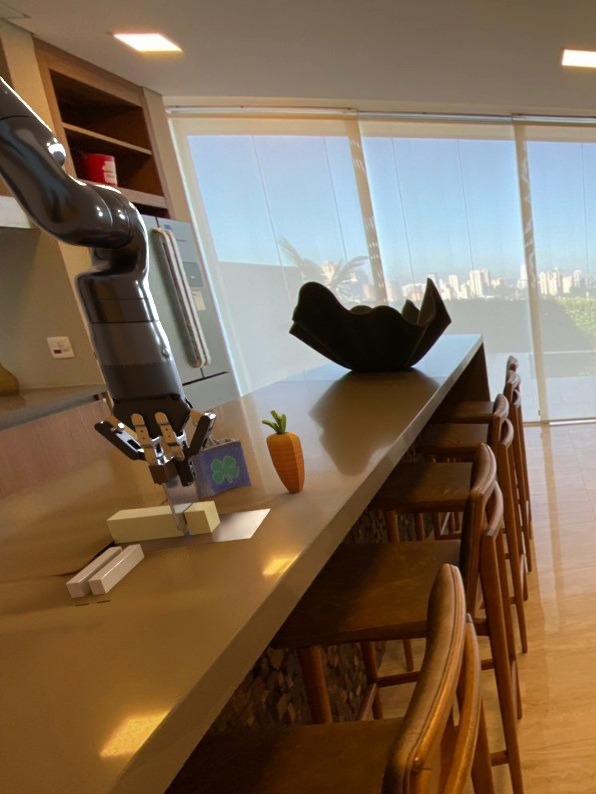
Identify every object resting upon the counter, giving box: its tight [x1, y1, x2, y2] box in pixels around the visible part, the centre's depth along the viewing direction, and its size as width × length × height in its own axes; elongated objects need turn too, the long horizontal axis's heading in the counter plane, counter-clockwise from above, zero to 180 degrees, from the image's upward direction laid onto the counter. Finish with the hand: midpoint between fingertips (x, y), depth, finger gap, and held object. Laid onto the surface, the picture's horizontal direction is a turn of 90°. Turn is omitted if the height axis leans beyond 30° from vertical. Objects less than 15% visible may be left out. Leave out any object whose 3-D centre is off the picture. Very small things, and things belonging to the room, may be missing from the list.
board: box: [92, 508, 271, 559], centre depth 81 cm, size 18×12×1 cm, turn 109°
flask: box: [192, 434, 253, 498], centre depth 97 cm, size 9×3×11 cm, turn 164°
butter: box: [105, 505, 189, 544], centre depth 79 cm, size 8×4×4 cm, turn 109°
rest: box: [65, 544, 145, 607], centre depth 69 cm, size 10×3×3 cm, turn 19°
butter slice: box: [184, 500, 220, 535], centre depth 81 cm, size 2×4×4 cm, turn 19°
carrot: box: [261, 409, 306, 494], centre depth 94 cm, size 5×5×15 cm
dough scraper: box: [147, 450, 200, 530], centre depth 79 cm, size 9×2×10 cm, turn 19°
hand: (178, 485), depth 79 cm, fingers closed on dough scraper, 1 cm apart
